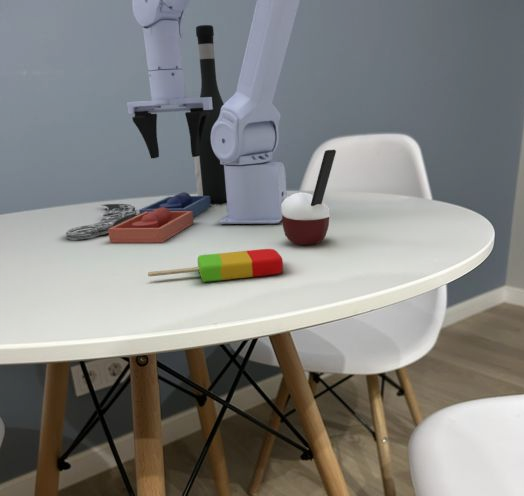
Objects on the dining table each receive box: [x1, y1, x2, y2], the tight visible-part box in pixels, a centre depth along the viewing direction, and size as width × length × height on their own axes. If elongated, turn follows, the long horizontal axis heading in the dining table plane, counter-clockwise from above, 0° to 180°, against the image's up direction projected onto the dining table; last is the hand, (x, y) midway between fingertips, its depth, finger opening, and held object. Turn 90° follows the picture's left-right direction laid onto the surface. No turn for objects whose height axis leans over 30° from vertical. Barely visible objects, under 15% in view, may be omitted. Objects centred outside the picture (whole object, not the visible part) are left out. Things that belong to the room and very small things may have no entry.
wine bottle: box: [193, 24, 227, 205], centre depth 107 cm, size 8×8×30 cm
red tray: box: [108, 211, 194, 244], centre depth 89 cm, size 8×13×2 cm, turn 167°
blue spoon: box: [159, 191, 192, 209], centre depth 103 cm, size 10×4×3 cm, turn 166°
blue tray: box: [138, 195, 212, 218], centre depth 103 cm, size 8×13×2 cm, turn 167°
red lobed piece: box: [132, 207, 171, 228], centre depth 89 cm, size 10×4×3 cm, turn 167°
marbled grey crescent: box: [65, 203, 137, 241], centre depth 100 cm, size 28×2×10 cm
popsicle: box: [147, 248, 284, 283], centre depth 65 cm, size 6×15×2 cm, turn 100°
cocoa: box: [281, 149, 337, 246], centre depth 75 cm, size 10×6×12 cm, turn 9°
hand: (175, 157), depth 101 cm, fingers open, 7 cm apart
